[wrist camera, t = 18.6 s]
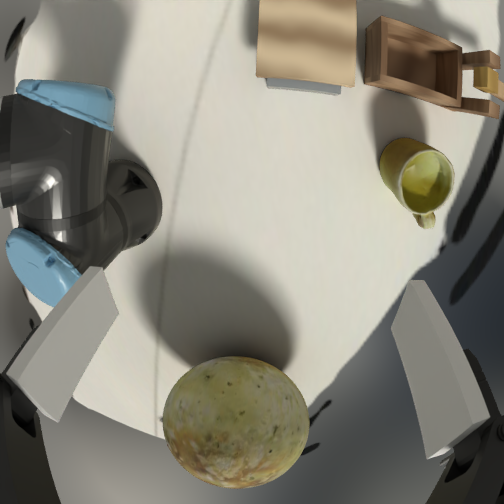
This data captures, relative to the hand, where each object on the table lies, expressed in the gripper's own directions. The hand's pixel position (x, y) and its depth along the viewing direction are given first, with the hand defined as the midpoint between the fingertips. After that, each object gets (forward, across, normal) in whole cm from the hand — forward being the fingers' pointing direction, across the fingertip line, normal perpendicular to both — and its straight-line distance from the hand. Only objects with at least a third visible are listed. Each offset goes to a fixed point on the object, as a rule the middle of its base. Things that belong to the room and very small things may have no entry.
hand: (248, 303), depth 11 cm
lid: (+25, +4, +17) cm, 31 cm away
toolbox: (+30, +21, +16) cm, 40 cm away
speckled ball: (+30, -5, -48) cm, 57 cm away
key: (+21, +31, +15) cm, 40 cm away
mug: (+30, +20, -1) cm, 37 cm away
